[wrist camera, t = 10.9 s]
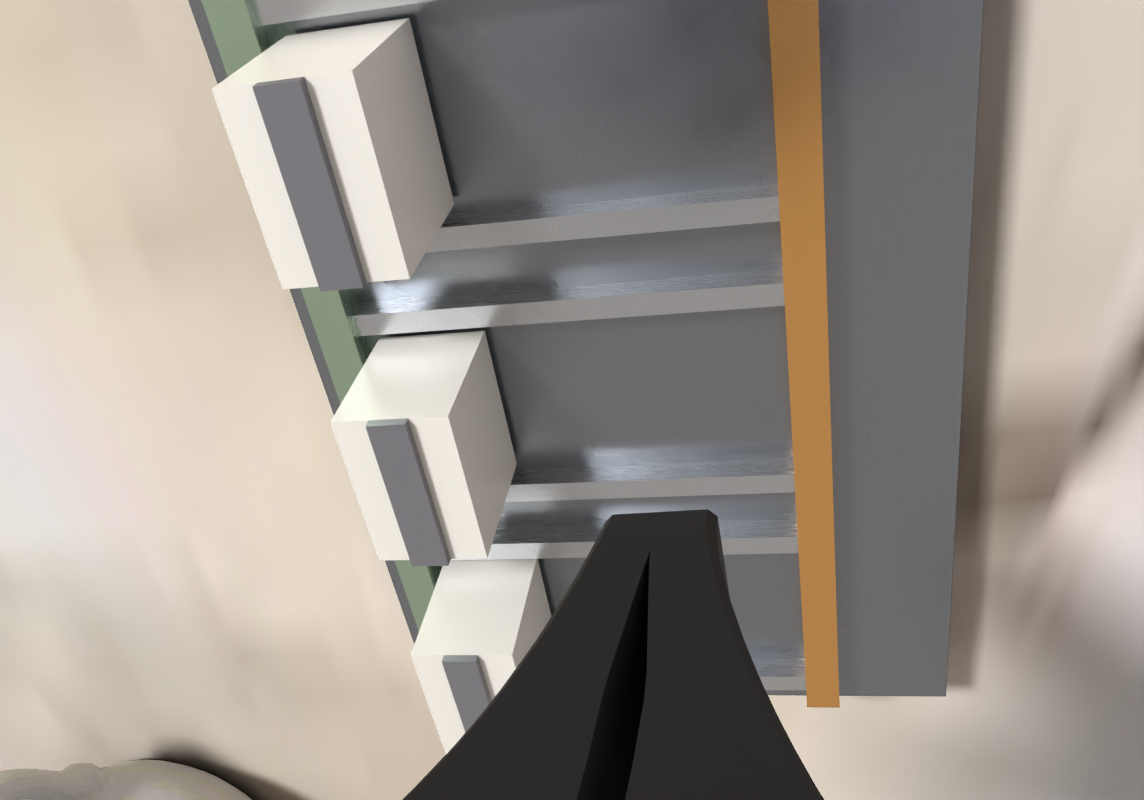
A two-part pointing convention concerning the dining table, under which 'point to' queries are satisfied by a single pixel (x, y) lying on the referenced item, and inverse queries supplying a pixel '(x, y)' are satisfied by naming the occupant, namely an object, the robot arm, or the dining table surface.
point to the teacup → (117, 783)
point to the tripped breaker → (476, 637)
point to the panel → (700, 292)
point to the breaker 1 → (339, 154)
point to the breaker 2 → (427, 447)
